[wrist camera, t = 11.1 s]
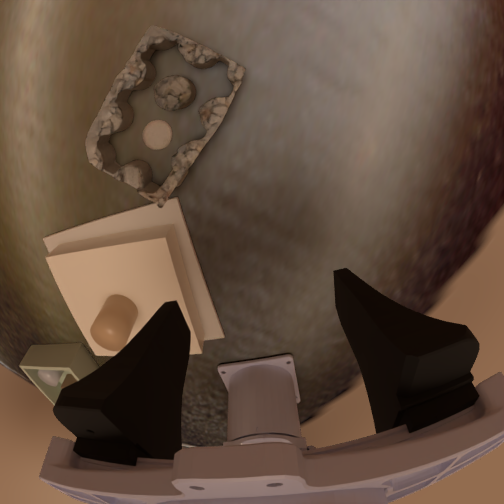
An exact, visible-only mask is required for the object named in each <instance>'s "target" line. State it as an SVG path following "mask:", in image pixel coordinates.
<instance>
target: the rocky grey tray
mask: <svg viewBox="0 0 504 504" xmlns="http://www.w3.org/2000/svg"><path fill="white" fill-rule="evenodd" d="M177 43H179V45H178V50H179V51H180V53H181V54H182V55H183V57H184V58H185V60H186V61H187V62H188V63H190V64H191V65H193V66H194V67H196V68H200V69H204V68H205V69H206V68H210V67H212V66H214V65H215V64H216V63H217V62H218V61H221V62H223V63H225V64H227V65H229V67H228V70H227V74H228V78H229V80H230V82H231V83H232V84H233V86H234V88H233V91H232V93H231V94H230V96H229V97H224V98H222V97H218V98H213V99H211V100H209V101H208V102H206V103H205V104H204V105H203V106H201V107H200V110H199V114H200V119H201V123H202V125H203V126H204V128H205V129H206V130H207V134H206V135H205V136H204V138H203V139H199V140H194V141H190V142H188V143H186V144H185V145H182V146H181V147H179V148H178V151H177V153H176V154H175V155H173V156H172V168H173V170H172V171H171V173H170V174H169V176H168V178H167V179H166V180H165V182H164V183H163V185H162V186H159V185H157V184H155V183H154V182H152V170H151V167H150V166H149V165H148V164H147V163H146V162H144V161H141V160H134V161H132V162H129V163H128V164H126V165H124V166H121V165H119V164H118V163H116V161H115V160H116V154H115V150H114V148H113V146H112V145H110V144H109V142H108V141H109V138H110V136H111V134H114V133H117V132H121V131H124V130H126V129H127V128H128V127H129V126H130V125H131V124H132V121H133V117H134V113H133V109H132V107H131V106H130V105H129V104H128V103H127V100H128V98H129V96H130V94H131V92H132V90H144V89H146V88H148V87H149V86H150V85H151V84H152V83H153V81H154V79H155V77H156V70H155V68H154V66H153V64H152V63H151V62H150V61H149V60H150V58H151V56H152V54H153V53H154V51H155V50H168V49H170V48H172V47H173V46H175V45H176V44H177ZM244 72H245V68H244V67H242V66H240V65H238V64H237V63H235V62H233V61H232V60H230V59H228V58H226V57H224V56H222V55H220V54H218V53H216V52H214V51H212V50H211V49H209V48H207V47H205V46H203V45H200V44H198V43H196V42H194V41H192V40H190V39H188V38H185V37H183V36H181V35H180V34H177V33H174V32H172V31H169V30H166V29H164V28H160V27H156V26H151V27H149V28H148V30H147V31H146V33H145V34H144V36H143V38H142V39H141V41H140V42H139V44H138V45H137V47H136V49H135V52H134V54H133V55H132V57H131V58H130V60H129V61H128V62H126V66H125V68H124V69H123V71H122V72H121V73H120V74H118V75H117V77H116V79H115V81H114V83H113V86H112V88H111V90H110V92H109V93H108V95H107V97H106V99H105V100H104V103H103V105H102V108H101V110H100V111H99V113H98V115H97V117H96V118H95V120H94V122H93V124H92V126H91V128H90V130H89V132H88V134H87V138H86V151H87V156H88V160H89V162H90V163H91V164H92V165H94V166H95V167H97V168H98V169H99V170H101V171H104V172H106V173H108V174H110V175H111V176H113V177H114V178H115V179H116V180H118V181H122V182H126V183H127V184H129V185H131V186H133V187H135V188H136V189H137V192H138V193H139V194H140V195H142V196H143V197H145V198H147V199H148V200H150V201H152V202H154V203H155V204H157V206H158V207H159V208H163V206H164V204H165V203H166V202H167V200H168V198H169V196H170V194H171V193H172V191H173V190H174V188H175V187H176V186H179V185H181V183H182V182H183V180H184V178H185V177H186V176H187V174H188V172H189V171H188V168H189V167H190V166H191V165H192V164H193V162H194V161H195V159H196V158H197V156H198V155H199V153H200V151H201V150H202V148H203V147H204V146H205V145H206V143H207V142H208V141H209V139H210V138H211V137H212V135H213V134H214V133H215V131H216V130H217V128H218V127H219V125H220V124H221V122H222V120H223V118H224V116H225V114H226V112H227V110H228V108H229V106H230V104H231V102H232V100H233V98H234V95H235V93H236V91H237V89H238V88H239V86H240V85H241V82H242V80H241V79H242V76H243V74H244ZM192 82H193V81H192ZM192 82H191V81H190V80H188V79H186V78H183V77H181V76H179V75H172V76H167V77H166V78H164V79H162V80H160V81H159V82H158V83H157V84H156V85H155V87H154V94H155V101H156V103H157V105H158V106H159V107H161V108H163V109H165V110H168V111H175V110H177V109H183V108H186V107H187V106H189V105H190V104H191V103H192V102H193V101H194V99H195V96H196V89H195V86H194V84H193V83H192ZM172 136H173V134H172V129H171V126H170V125H169V124H168V123H167V122H166V121H163V120H154V121H152V122H150V123H149V124H148V125H147V126H146V127H145V128H144V130H143V140H144V143H145V144H146V146H147V147H149V148H150V149H153V150H161V149H163V148H165V147H167V146H168V145H169V143H170V142H171V139H172Z"/></svg>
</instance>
